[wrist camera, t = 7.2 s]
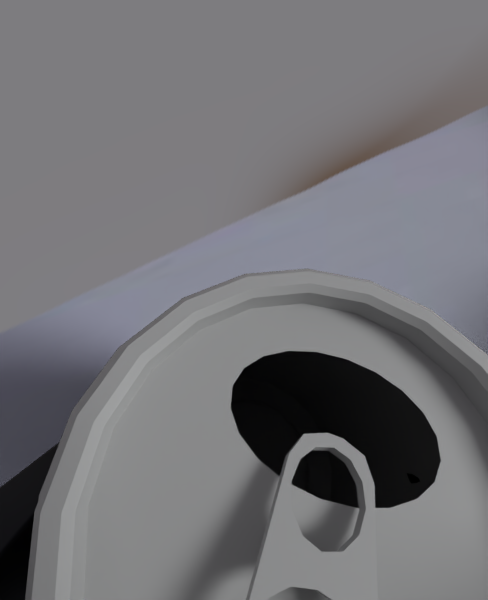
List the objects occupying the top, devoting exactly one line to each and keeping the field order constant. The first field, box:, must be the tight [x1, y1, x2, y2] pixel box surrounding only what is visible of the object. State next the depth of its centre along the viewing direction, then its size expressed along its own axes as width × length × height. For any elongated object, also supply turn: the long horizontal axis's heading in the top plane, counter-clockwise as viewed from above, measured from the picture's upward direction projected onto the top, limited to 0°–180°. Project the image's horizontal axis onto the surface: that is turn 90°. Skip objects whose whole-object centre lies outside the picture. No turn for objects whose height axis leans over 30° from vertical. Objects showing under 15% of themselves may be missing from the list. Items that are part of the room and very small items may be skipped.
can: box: [25, 269, 488, 600], centre depth 9 cm, size 8×8×12 cm
